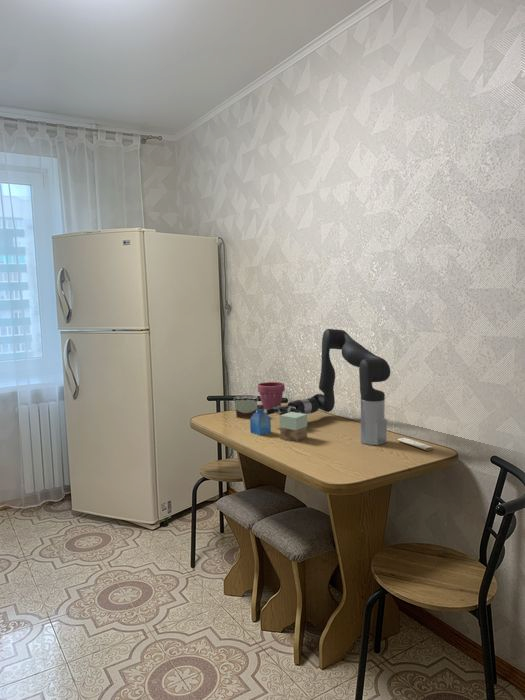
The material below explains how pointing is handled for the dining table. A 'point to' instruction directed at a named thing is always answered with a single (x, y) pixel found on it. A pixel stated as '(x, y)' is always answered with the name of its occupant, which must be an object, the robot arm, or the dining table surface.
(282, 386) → the plant pot
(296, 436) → the tower base block
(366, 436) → the robot arm
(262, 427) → the perfume bottle
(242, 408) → the food container
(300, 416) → the tower top block
